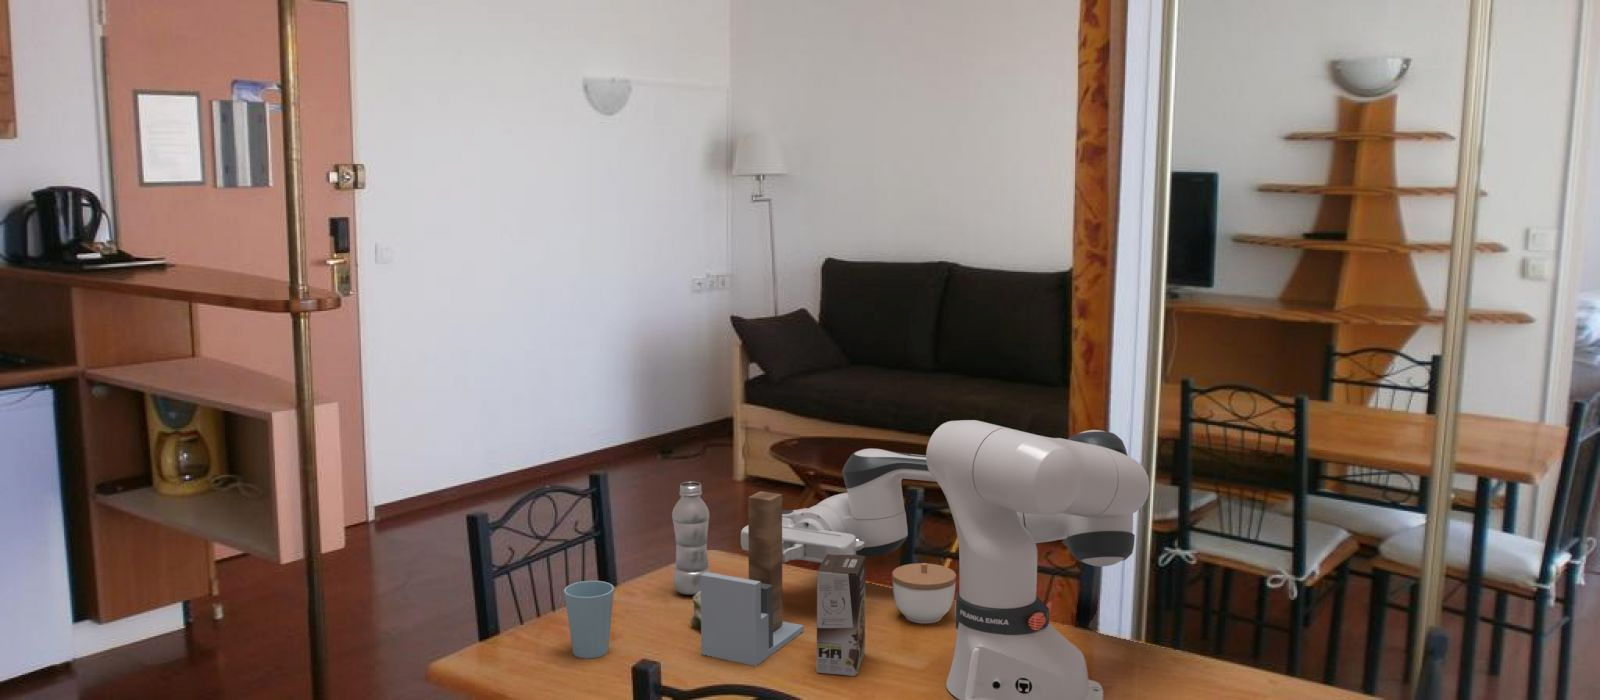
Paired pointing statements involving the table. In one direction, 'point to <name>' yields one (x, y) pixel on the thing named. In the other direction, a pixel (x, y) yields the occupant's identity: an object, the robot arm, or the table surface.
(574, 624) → the cup
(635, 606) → the table surface
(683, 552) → the plastic bottle
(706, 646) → the blue-grey stand
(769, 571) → the peg
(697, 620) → the rock
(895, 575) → the lidded jar
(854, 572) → the coffee box
